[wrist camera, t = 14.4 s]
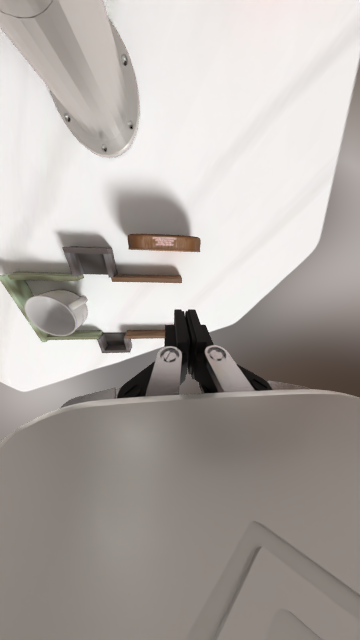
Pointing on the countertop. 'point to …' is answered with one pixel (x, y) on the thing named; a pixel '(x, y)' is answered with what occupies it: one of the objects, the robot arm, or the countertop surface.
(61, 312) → the teacup
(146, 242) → the tin
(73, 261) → the multicolour bar frame
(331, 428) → the robot arm
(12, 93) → the countertop surface
